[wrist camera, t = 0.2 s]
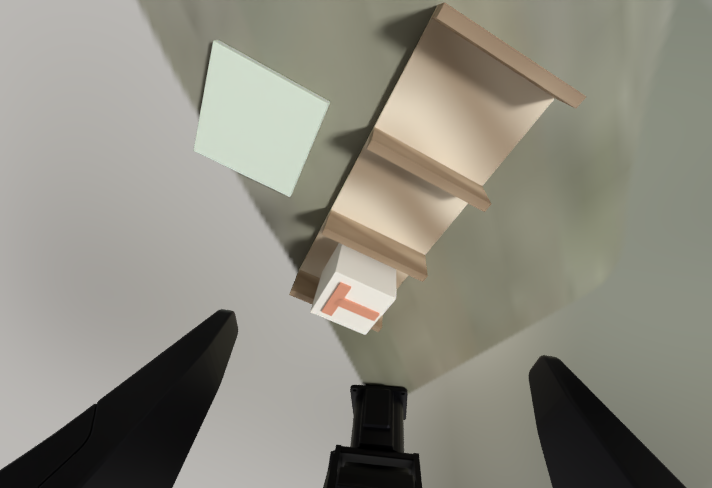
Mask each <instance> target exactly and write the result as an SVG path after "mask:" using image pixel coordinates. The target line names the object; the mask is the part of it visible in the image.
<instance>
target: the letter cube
mask: <svg viewBox="0 0 712 488" xmlns="http://www.w3.org/2000/svg"><path fill="white" fill-rule="evenodd" d="M395 299H396V269H394V268H392V267H390V266H388V265H386V264H384V263H381V262H379V261H377V260H375V259H373V258H371V257H369V256H366V255H364V254H362V253H360V252H358V251H356V250H353V249H351V248H349V247H347V246H345V245H343V244H341V243H339V244H338V246H337V247H336V249H335V251H334V252H333V254H332V256H331V257H330V259H329V261H328V263H327V264H326V266H325V268H324V269H323V271H322V274H321V277H320V281H319V284H318V287H317V291H316V294H315V298H314V301H313V304H312V308H311V311H310V312H311V313H314V314H316V315H318V316H321V317H323V318H326V319H328V320H330V321H333V322H335V323H338V324H340V325H343V326H345V327H347V328H350V329H352V330H355V331H357V332H360V333H362V334H364V335H366V334H367V332H368V331H369V330H370V329H371V328H372V326H373V325H374V324H375V323H376V322H377V321H378V319H379V318H380V317H381V316H382V315H383V314H384V312H385V311H386V310H387V309H388V308H389V306H390V305H391V304H392V303H393V302H394V301H395Z"/></svg>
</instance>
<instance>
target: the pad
mask: <svg viewBox="0 0 712 488" xmlns="http://www.w3.org/2000/svg"><path fill="white" fill-rule="evenodd" d="M329 104H330V101H328V100H326V99H324V98H323V97H321V96H319V95H317V94H315V93H314V92H312V91H310V90H308V89H306V88H304V87H303V86H301V85H299V84H297V83H295V82H294V81H292V80H290V79H288V78H286V77H285V76H283V75H281V74H279V73H277V72H275V71H274V70H272V69H270V68H268V67H266V66H265V65H263V64H261V63H259V62H257V61H256V60H254V59H252V58H250V57H248V56H247V55H245V54H243V53H241V52H239V51H237V50H236V49H234V48H232V47H230V46H228V45H227V44H225V43H223V42H221V41H219V40H214V41H213V45H212V51H211V56H210V62H209V67H208V73H207V78H206V84H205V89H204V95H203V101H202V106H201V112H200V117H199V123H198V128H197V134H196V140H195V145H194V151H195V152H197V153H199V154H201V155H203V156H205V157H207V158H209V159H211V160H213V161H216V162H218V163H220V164H222V165H224V166H226V167H228V168H230V169H232V170H234V171H236V172H238V173H241V174H243V175H245V176H247V177H249V178H251V179H253V180H255V181H257V182H259V183H261V184H264V185H266V186H268V187H270V188H272V189H274V190H276V191H278V192H280V193H282V194H284V195H287V196H289V197H290V196H291V195H292V193H293V190H294V188H295V186H296V183H297V181H298V178H299V176H300V174H301V171H302V169H303V166H304V164H305V162H306V159H307V157H308V155H309V152H310V150H311V147H312V145H313V143H314V140H315V138H316V135H317V133H318V131H319V128H320V126H321V123H322V121H323V119H324V116H325V114H326V112H327V109H328V107H329Z"/></svg>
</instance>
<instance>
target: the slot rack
mask: <svg viewBox="0 0 712 488" xmlns="http://www.w3.org/2000/svg"><path fill="white" fill-rule="evenodd" d="M555 98H556V99H558V100H560V101H562V102H564V103H566V104H568V105H570V106H572V107H574V108H577V107H578V106H579V105H580V103H581V102H582V101H583V100H584V99H585V98H586V96H585V95H583V94H582V93H580V92H579V91H577V90H576V89H574V88H573V87H571V86H570V85H568V84H567V83H565V82H564V81H562V80H561V79H559V78H558V77H556V76H555V75H553V74H552V73H550V72H549V71H547V70H546V69H544V68H543V67H541V66H540V65H538V64H537V63H535V62H534V61H532V60H531V59H529V58H528V57H526V56H525V55H523V54H522V53H520V52H519V51H517V50H516V49H514V48H512V47H511V46H509V45H508V44H506V43H505V42H503V41H502V40H500V39H499V38H497V37H496V36H494V35H493V34H491V33H490V32H488V31H487V30H485V29H484V28H482V27H481V26H479V25H478V24H476V23H475V22H473V21H472V20H470V19H469V18H467V17H466V16H464V15H463V14H461V13H460V12H458V11H457V10H455V9H454V8H452V7H451V6H449V5H448V4H446V3H442V4H439V5H437V7H436V9H435V11H434V13H433V15H432V16H431V18H430V20H429V22H428V24H427V26H426V28H425V30H424V32H423V34H422V36H421V37H420V39H419V41H418V43H417V45H416V47H415V49H414V51H413V53H412V55H411V57H410V59H409V60H408V62H407V64H406V66H405V68H404V70H403V72H402V74H401V76H400V78H399V80H398V81H397V83H396V85H395V87H394V89H393V91H392V93H391V95H390V97H389V99H388V101H387V103H386V104H385V106H384V108H383V110H382V112H381V114H380V116H379V118H378V120H377V122H376V124H375V125H374V127H373V129H372V131H371V133H370V135H369V137H368V139H367V141H366V143H365V145H364V147H363V148H362V150H361V152H360V154H359V156H358V158H357V160H356V162H355V164H354V166H353V168H352V169H351V171H350V173H349V175H348V177H347V179H346V181H345V183H344V185H343V187H342V189H341V191H340V192H339V194H338V196H337V198H336V200H335V202H334V204H333V206H332V208H331V210H330V212H329V213H328V215H327V217H326V219H325V221H324V223H323V225H322V227H321V229H320V231H319V233H318V235H317V236H316V238H315V240H314V242H313V244H312V246H311V248H310V250H309V252H308V254H307V256H306V257H305V259H304V261H303V263H302V265H301V267H300V269H299V271H298V274H297V276H296V279H295V281H294V284H293V287H292V289H291V292H290V295H291V296H293V297H296V298H298V299H301V300H303V301H306V302H308V303H310V304H313V301H314V298H315V294H316V291H317V287H318V284H319V281H320V277H321V274H322V271H323V269H324V268H325V266H326V264H327V263H328V261H329V259H330V257H331V256H332V254H333V252H334V251H335V249H336V247H337V246H338V244H339V243H341V244H343V245H345V246H347V247H349V248H351V249H353V250H356V251H358V252H360V253H362V254H364V255H366V256H369V257H371V258H373V259H375V260H377V261H379V262H381V263H384V264H386V265H388V266H390V267H392V268H394V269H396V289H397V288H398V287H399V286H400V285H401V283H402V282H403V281H404V280H405V278H406V277H407V276H408V275H409V276H412V277H414V278H416V279H418V280H420V281H422V282H423V281H424V280H425V279H426V278H427V276H428V275H427V267H426V259H425V254H426V253H427V252H428V251H429V250H430V248H431V247H432V246H433V245H434V243H435V242H436V241H437V240H438V239H439V237H440V236H441V235H442V234H443V233H444V231H445V230H446V229H447V228H448V227H449V225H450V224H451V223H452V222H453V221H454V219H455V218H456V217H457V216H458V215H459V213H460V212H461V211H462V210H463V208H464V207H465V206H466V205H467V204H468V203H469V204H471V205H472V206H474V207H476V208H478V209H480V210H482V211H484V212H485V211H486V210H487V209H488V207H489V206H490V205H491V203H490V201H489V199H488V197H487V195H486V193H485V191H484V189H483V187H482V186H483V184H484V183H485V182H486V181H487V180H488V178H489V177H490V176H491V175H492V173H493V172H494V171H495V170H496V169H497V167H498V166H499V165H500V164H501V163H502V161H503V160H504V159H505V158H506V157H507V155H508V154H509V153H510V152H511V151H512V149H513V148H514V147H515V146H516V145H517V143H518V142H519V141H520V140H521V138H522V137H523V136H524V135H525V134H526V132H527V131H528V130H529V129H530V128H531V126H532V125H533V124H534V123H535V122H536V120H537V119H538V118H539V117H540V116H541V114H542V113H543V112H544V111H545V110H546V108H547V107H548V106H549V105H550V104H551V102H552V101H553V100H554V99H555ZM382 316H383V315H382ZM382 316H381V317H380V318H379V319H378V321H377V322H376V323H375V324H374V325H373V326H372V328H371V329H372V330H375V331H377V332H379V331H380V330H381V328H382Z"/></svg>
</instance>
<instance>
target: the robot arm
mask: <svg viewBox="0 0 712 488" xmlns="http://www.w3.org/2000/svg"><path fill="white" fill-rule="evenodd" d="M237 334H238V326H237V321H236V316H235V313H234V312H233V311H230V310H223V309H221V310H218V311H217V312H216V313H214V314H213V315H211V316H210V317H209V318H207V319H206V320H205V321H203V322H202V323H201V324H200V325H198V326H197V327H195V328H194V329H193V330H192V331H190V332H189V333H188V334H187V335H185V336H184V337H182V338H181V339H180V340H178V341H177V342H176V343H174V344H173V345H172V346H170V347H169V348H168V349H166V350H165V351H164V352H162V353H161V354H160V355H158V356H157V357H156V358H154V359H153V360H152V361H151V362H149V363H148V364H147V365H145V366H144V367H143V368H141V369H140V370H139V371H137V372H136V373H135V374H133V375H132V376H131V377H129V378H128V379H127V380H125V381H124V382H123V383H121V384H120V385H119V386H117V387H116V388H115V389H114V390H112V391H111V392H110V393H108V394H107V395H106V396H104V397H103V398H102V399H100V400H99V401H98V402H97V404H94V405H92V406H91V407H90V408H88V409H87V410H86V411H84V412H83V413H82V414H80V415H79V416H78V417H76V418H75V419H73V420H72V421H71V422H69V423H68V424H67V425H66V426H64V427H63V428H61V429H60V430H58V431H57V432H56V433H54V434H53V435H52V436H50V437H49V438H47V439H46V440H44V441H43V442H42V443H40V444H38V445H37V446H35V447H34V448H32V449H31V450H30V451H28V452H27V453H25V454H24V455H22V456H21V457H19V458H18V459H16V460H15V461H13V462H12V463H10V464H9V465H7V466H6V467H4V468H3V469H1V470H0V488H172V487H173V485H174V483H175V481H176V479H177V476H178V474H179V472H180V470H181V468H182V466H183V464H184V462H185V459H186V457H187V455H188V453H189V451H190V448H191V446H192V444H193V442H194V440H195V438H196V436H197V434H198V432H199V429H200V427H201V425H202V423H203V421H204V419H205V417H206V415H207V412H208V410H209V408H210V406H211V404H212V401H213V400H214V397H215V395H216V393H217V391H218V389H219V386H220V384H221V381H222V378H223V376H224V373H225V370H226V367H227V364H228V361H229V358H230V355H231V352H232V349H233V346H234V344H235V341H236V338H237ZM529 383H530V390H531V395H532V402H533V408H534V413H535V419H536V425H537V430H538V435H539V439H540V443H541V447H542V450H543V454H544V458H545V461H546V465H547V468H548V472H549V476H550V480H551V483H552V487H553V488H686V487H685V486H684V485H683V484H682V483H681V482H680V481H679V480H678V479H677V478H676V477H675V476H674V475H673V474H672V473H671V472H670V471H669V470H668V469H667V467H665V465H664V464H663V463H661V461H660V460H659V459H658V458H657V457H656V456H655V455H654V454H653V453H652V452H651V451H650V450H649V449H648V448H647V447H646V446H645V445H644V444H643V443H642V442H641V441H640V440H639V439H638V438H637V437H636V436H635V435H634V434H633V433H632V432H631V431H630V430H629V429H628V428H627V427H626V426H625V425H624V424H623V423H622V422H621V421H620V420H619V419H618V418H617V417H616V416H615V415H614V414H613V413H612V412H611V411H610V410H609V409H608V408H607V407H606V406H605V405H604V404H603V403H602V402H601V401H600V400H599V399H598V398H597V397H596V396H595V395H594V394H593V393H592V392H591V391H590V390H589V388H588V387H587V386H586V385H585V384H584V383H583V382H582V381H581V380H580V379H579V378H577V376H576V375H575V374H574V373H573V372H572V371H571V370H570V369H569V368H568V367H566V365H565V364H564V363H563V362H562V361H561V360H560V359H558V358H556V357H552V356H545V355H543V356H541V357H539V359H538V360H537V362H536V363H535V364H534V366H533V367H532V368H531V370H530V372H529ZM350 392H351V399H352V407H353V414H354V418H353V428H352V437H351V446H350V447H344V446H341V445H336V449H335V450H334V451H331V454H330V461H329V467H328V472H327V476H326V479H325V483H324V487H323V488H422V482H421V471H420V462H419V454H418V453H413V454H409V453H404V428H403V420H405V419H406V408H407V389H405V388H396V387H381V386H365V385H352V386H351V389H350Z"/></svg>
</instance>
